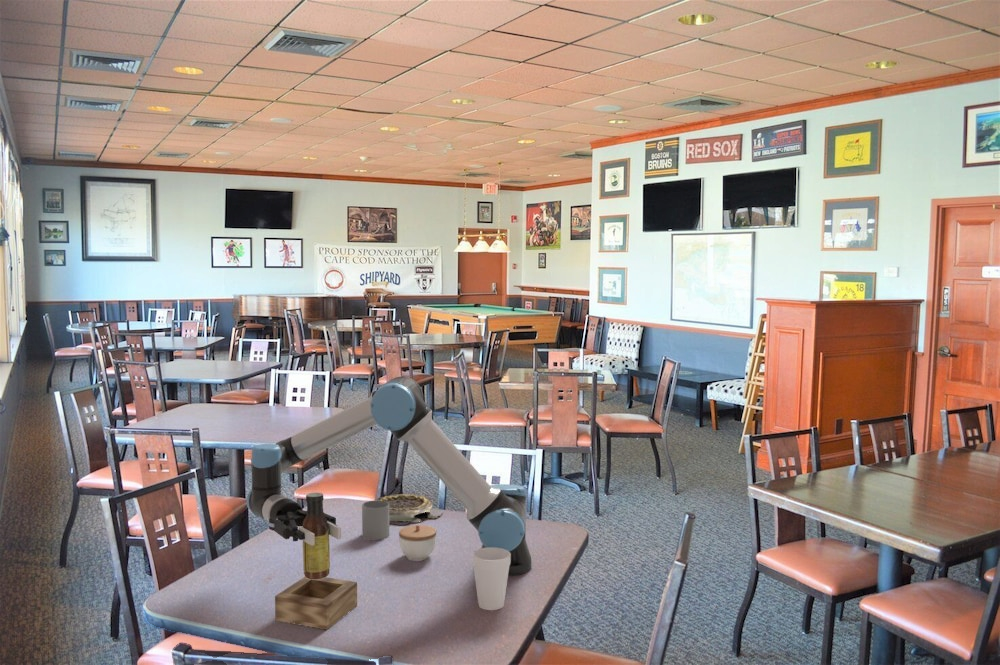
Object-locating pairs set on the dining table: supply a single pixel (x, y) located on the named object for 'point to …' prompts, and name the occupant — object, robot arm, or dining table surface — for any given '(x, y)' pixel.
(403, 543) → the lidded jar
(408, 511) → the pie
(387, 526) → the cup
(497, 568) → the foam cup
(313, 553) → the sauce bottle
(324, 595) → the open wooden box
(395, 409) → the robot arm
